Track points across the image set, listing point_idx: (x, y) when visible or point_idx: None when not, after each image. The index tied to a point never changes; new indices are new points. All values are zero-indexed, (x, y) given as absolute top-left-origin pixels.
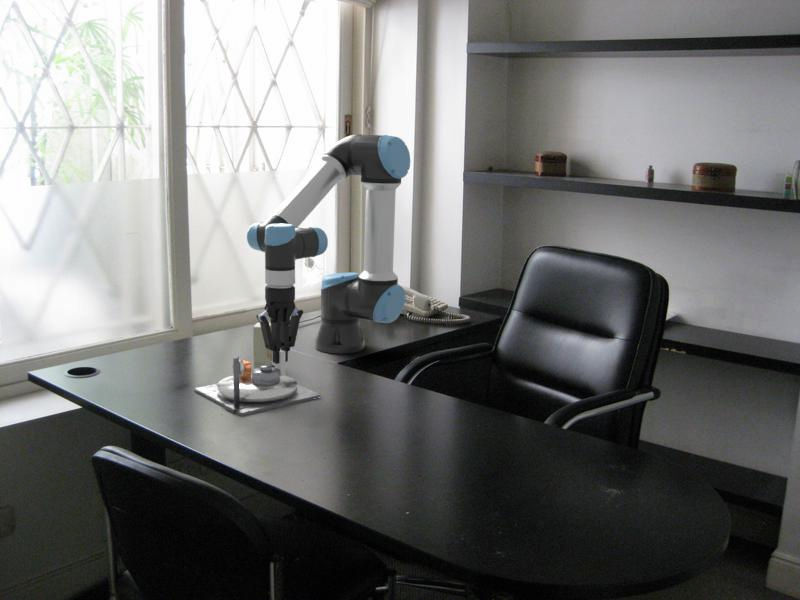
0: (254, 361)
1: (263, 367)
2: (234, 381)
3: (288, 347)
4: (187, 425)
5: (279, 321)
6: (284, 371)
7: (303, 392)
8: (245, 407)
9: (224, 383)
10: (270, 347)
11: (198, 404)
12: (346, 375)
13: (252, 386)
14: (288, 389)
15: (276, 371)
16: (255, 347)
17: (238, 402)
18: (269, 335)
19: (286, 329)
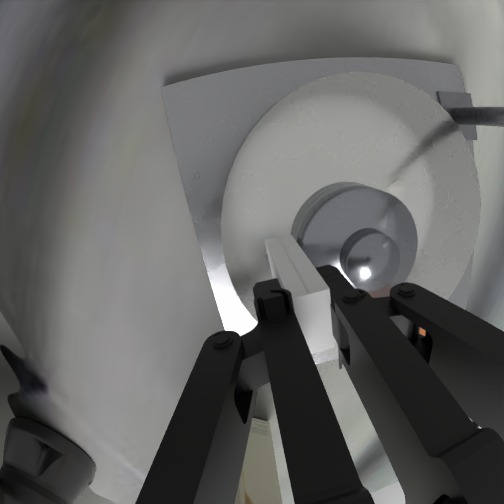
0: (270, 438)
1: (392, 249)
2: None
3: (262, 323)
4: None
5: (494, 480)
6: (273, 245)
7: (214, 135)
8: (444, 91)
9: (449, 274)
10: (425, 291)
11: (493, 208)
12: (27, 295)
13: (406, 206)
14: (301, 102)
15: (328, 225)
16: (272, 470)
17: (465, 107)
18: (492, 339)
19: (321, 446)
